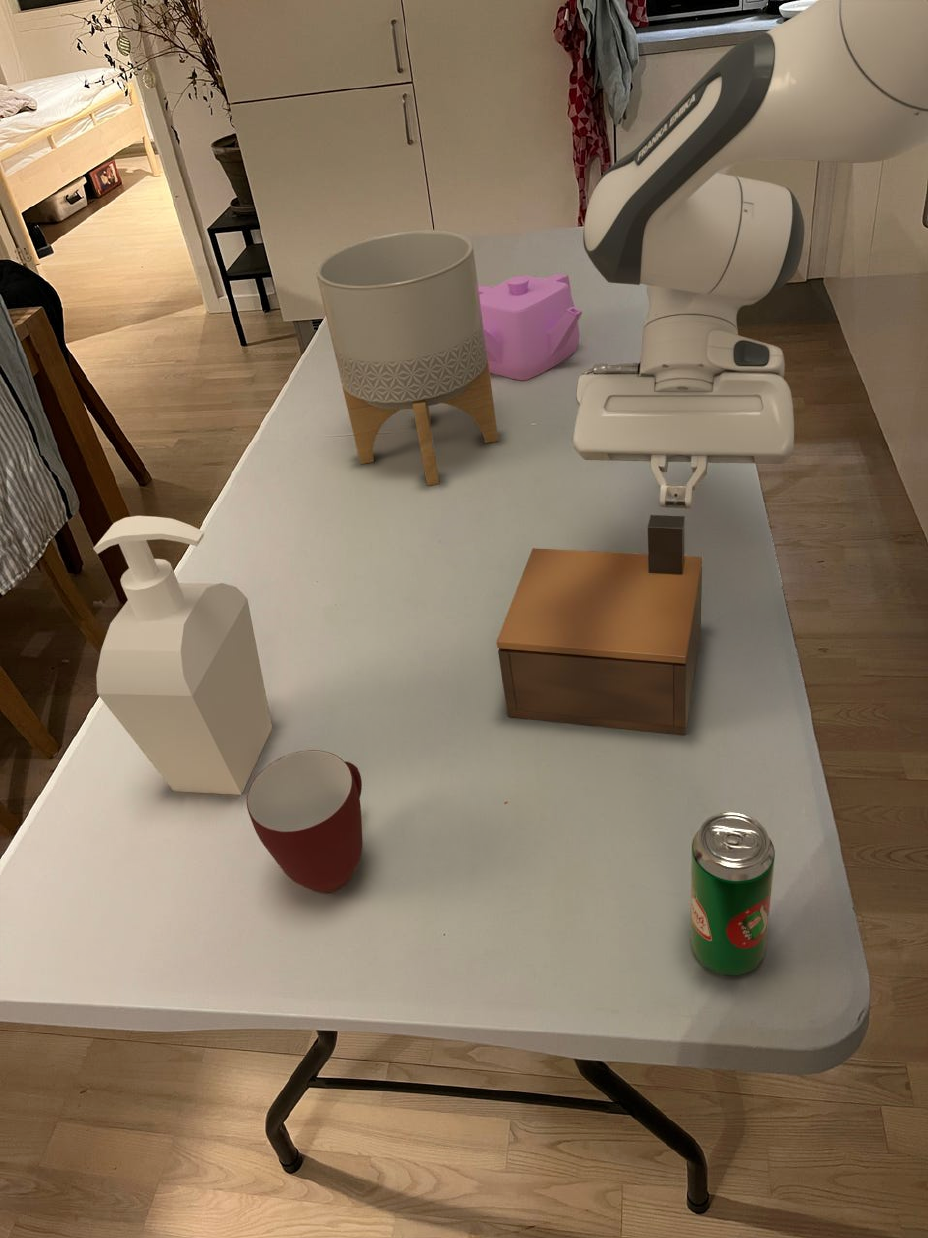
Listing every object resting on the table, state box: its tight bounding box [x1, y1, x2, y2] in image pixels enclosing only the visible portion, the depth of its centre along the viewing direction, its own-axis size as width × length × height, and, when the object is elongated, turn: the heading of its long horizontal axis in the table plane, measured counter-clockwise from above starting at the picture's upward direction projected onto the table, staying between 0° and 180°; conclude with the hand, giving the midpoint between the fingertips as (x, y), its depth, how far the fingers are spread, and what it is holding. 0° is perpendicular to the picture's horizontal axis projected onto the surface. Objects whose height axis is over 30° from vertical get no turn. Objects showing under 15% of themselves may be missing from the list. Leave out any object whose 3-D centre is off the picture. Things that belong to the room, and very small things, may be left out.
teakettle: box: [478, 272, 583, 382], centre depth 145 cm, size 17×17×12 cm
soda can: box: [690, 811, 776, 976], centre depth 64 cm, size 5×5×12 cm
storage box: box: [497, 567, 703, 736], centre depth 89 cm, size 16×14×8 cm
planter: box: [315, 229, 499, 487], centre depth 122 cm, size 19×19×26 cm
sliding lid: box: [496, 514, 703, 664], centre depth 84 cm, size 16×14×6 cm
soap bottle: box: [92, 515, 273, 796], centre depth 81 cm, size 12×10×26 cm
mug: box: [246, 749, 363, 894], centre depth 75 cm, size 11×8×10 cm
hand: (675, 506), depth 90 cm, fingers closed
